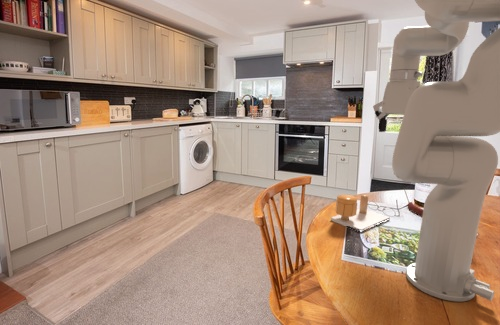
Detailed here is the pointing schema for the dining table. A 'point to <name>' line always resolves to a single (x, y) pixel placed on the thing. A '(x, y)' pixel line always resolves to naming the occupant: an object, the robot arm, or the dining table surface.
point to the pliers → (415, 208)
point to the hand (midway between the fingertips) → (396, 133)
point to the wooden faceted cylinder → (346, 205)
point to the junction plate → (360, 216)
